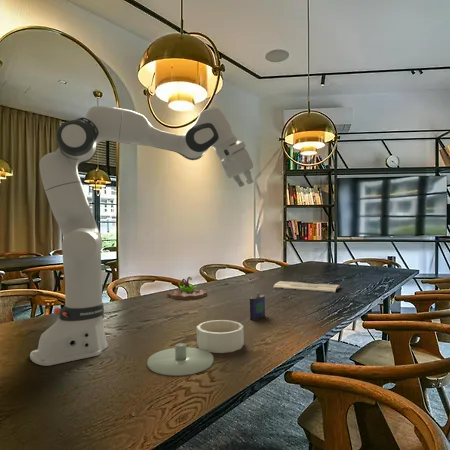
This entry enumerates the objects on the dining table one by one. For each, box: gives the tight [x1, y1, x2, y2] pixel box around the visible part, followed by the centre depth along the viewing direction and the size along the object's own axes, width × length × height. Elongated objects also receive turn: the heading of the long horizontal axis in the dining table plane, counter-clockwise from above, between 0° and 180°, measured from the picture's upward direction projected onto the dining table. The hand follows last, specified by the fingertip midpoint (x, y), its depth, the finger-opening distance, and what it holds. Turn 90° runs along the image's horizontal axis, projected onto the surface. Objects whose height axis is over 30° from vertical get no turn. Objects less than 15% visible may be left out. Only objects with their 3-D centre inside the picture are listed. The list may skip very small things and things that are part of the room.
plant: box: [166, 276, 208, 301], centre depth 196 cm, size 20×20×11 cm
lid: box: [146, 342, 214, 377], centre depth 103 cm, size 19×19×5 cm
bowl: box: [196, 319, 245, 354], centre depth 117 cm, size 15×15×6 cm
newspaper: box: [272, 280, 340, 293], centre depth 217 cm, size 37×19×3 cm, turn 64°
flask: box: [249, 292, 266, 321], centre depth 150 cm, size 9×3×11 cm, turn 138°
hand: (246, 184), depth 130 cm, fingers open, 8 cm apart
